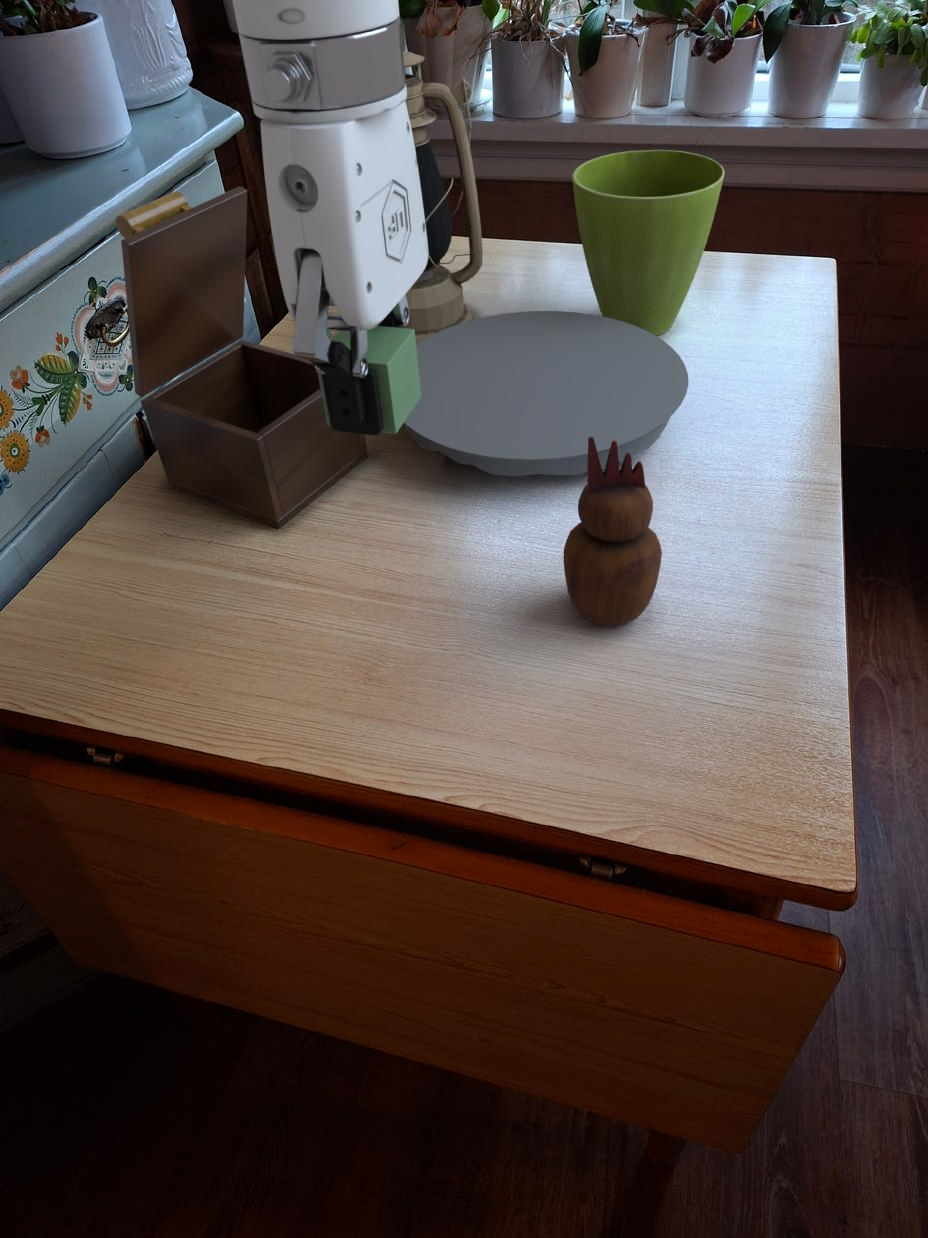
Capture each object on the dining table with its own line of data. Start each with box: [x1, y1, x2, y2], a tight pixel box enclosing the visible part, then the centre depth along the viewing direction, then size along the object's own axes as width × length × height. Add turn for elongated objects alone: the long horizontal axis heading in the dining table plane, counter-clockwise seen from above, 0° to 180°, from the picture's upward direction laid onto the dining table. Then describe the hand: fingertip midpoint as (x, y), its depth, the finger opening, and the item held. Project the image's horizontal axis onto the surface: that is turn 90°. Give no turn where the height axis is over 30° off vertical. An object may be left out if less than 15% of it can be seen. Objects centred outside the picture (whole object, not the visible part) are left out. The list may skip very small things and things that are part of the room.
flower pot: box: [571, 149, 726, 337], centre depth 96 cm, size 15×15×16 cm
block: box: [318, 326, 421, 435], centre depth 54 cm, size 4×4×4 cm
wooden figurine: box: [563, 437, 663, 626], centre depth 62 cm, size 7×6×15 cm
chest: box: [140, 339, 369, 529], centre depth 81 cm, size 14×13×9 cm
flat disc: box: [403, 310, 689, 477], centre depth 87 cm, size 28×28×4 cm
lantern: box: [400, 19, 484, 345], centre depth 94 cm, size 14×12×30 cm
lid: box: [115, 185, 248, 398], centre depth 76 cm, size 14×13×5 cm
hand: (374, 405), depth 56 cm, fingers closed on block, 4 cm apart
